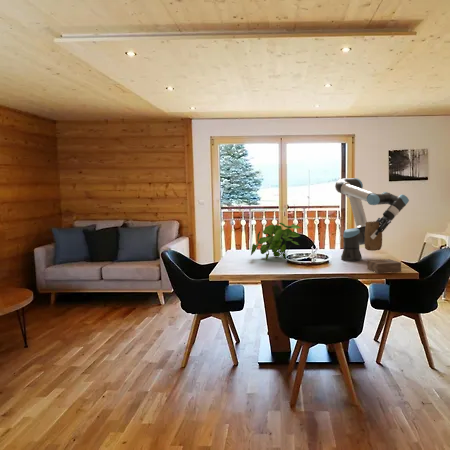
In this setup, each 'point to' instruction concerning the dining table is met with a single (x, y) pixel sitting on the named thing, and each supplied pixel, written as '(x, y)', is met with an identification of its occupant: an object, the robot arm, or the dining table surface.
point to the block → (369, 242)
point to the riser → (384, 265)
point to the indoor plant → (275, 239)
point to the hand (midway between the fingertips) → (368, 237)
